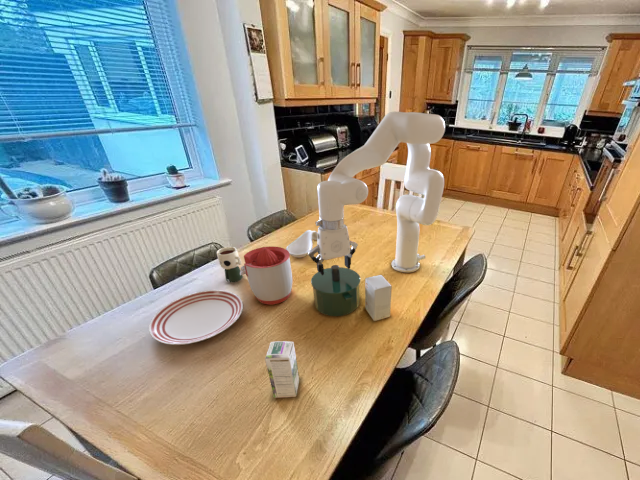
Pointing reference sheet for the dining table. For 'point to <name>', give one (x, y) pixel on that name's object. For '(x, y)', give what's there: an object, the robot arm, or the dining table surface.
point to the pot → (337, 302)
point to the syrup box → (282, 369)
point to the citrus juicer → (268, 274)
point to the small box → (377, 297)
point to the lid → (336, 280)
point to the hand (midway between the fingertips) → (334, 270)
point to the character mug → (230, 263)
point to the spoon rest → (302, 244)
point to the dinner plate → (196, 317)
